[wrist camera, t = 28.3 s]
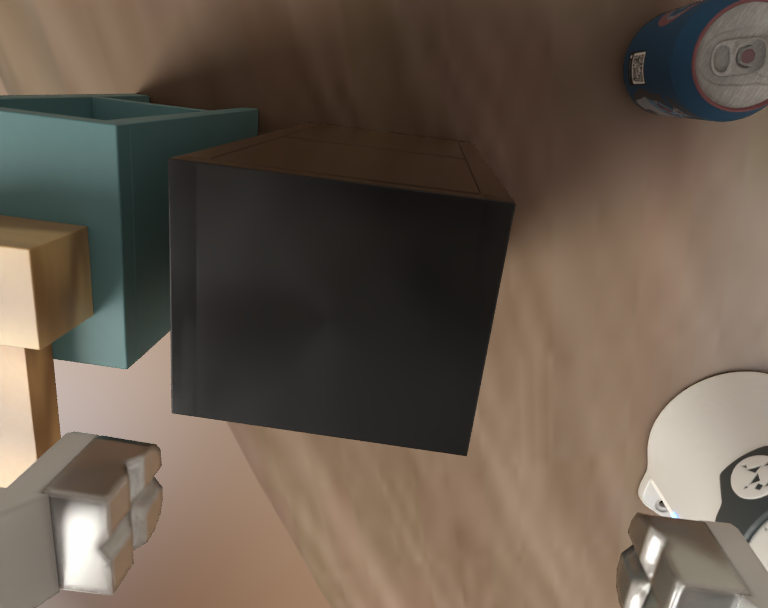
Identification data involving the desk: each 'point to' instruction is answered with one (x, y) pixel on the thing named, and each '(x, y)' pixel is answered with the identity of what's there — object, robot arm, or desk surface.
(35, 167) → the stand
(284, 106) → the desk surface
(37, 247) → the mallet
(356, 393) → the shelf
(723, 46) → the soda can
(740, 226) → the desk surface
